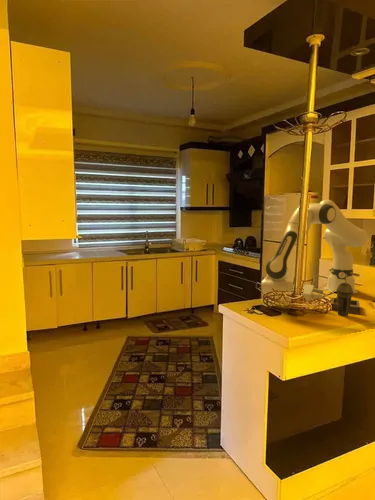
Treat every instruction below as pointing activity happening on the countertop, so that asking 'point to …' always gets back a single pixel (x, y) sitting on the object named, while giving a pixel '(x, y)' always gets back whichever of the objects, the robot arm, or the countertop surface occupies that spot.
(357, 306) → the dock plate
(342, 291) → the beverage cup
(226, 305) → the countertop surface
